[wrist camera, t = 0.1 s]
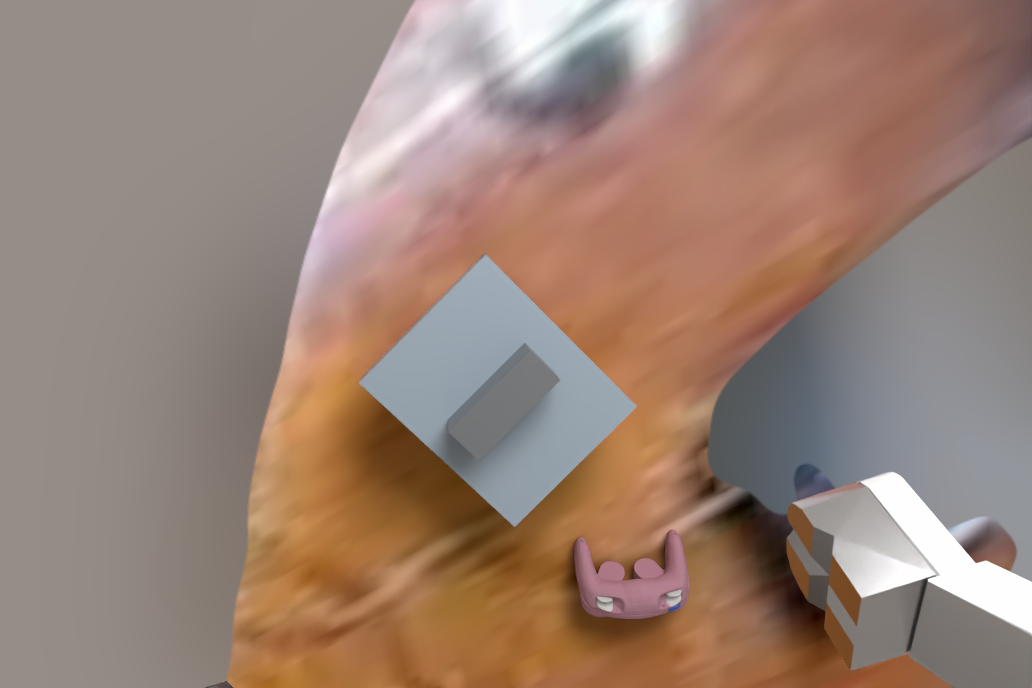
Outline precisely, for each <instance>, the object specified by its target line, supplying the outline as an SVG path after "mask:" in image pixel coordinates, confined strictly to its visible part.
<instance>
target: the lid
mask: <svg viewBox="0 0 1032 688" xmlns="http://www.w3.org/2000/svg"><path fill="white" fill-rule="evenodd" d="M359 384H360V385H362V386H363V387H364V388H365V389H366V390H367V391H368V392H369V393H370V394H371V395H372V396H373V397H375V398H376V399H377V400H378V401H379V402H380V403H381V404H382V405H383V406H384V407H385V408H386V409H388V410H389V411H390V412H391V413H392V414H393V415H394V416H395V417H396V418H397V419H398V420H399V421H400V422H402V423H403V424H404V425H405V426H406V427H407V428H408V429H409V430H410V431H411V432H412V433H413V434H415V435H416V436H417V437H418V438H419V439H420V440H421V441H422V442H423V443H424V444H425V445H426V446H428V447H429V448H430V449H431V450H432V451H433V452H434V453H435V454H436V455H437V456H438V457H439V458H440V459H442V460H443V461H444V462H445V463H446V464H447V465H448V466H449V467H450V468H451V469H452V470H453V471H455V472H456V473H457V474H458V475H459V476H460V477H461V478H462V479H463V480H464V481H465V482H466V483H468V484H469V485H470V486H471V487H472V488H473V489H474V490H475V491H476V492H477V493H478V494H479V495H480V496H482V497H483V498H484V499H485V500H486V501H487V502H488V503H489V504H490V505H491V506H492V507H493V508H495V509H496V510H497V511H498V512H499V513H500V514H501V515H502V516H503V517H504V518H505V519H506V520H508V521H509V522H510V523H511V524H512V525H513V526H514V527H515V526H516V525H517V524H518V523H519V522H520V521H521V520H522V519H523V518H524V517H526V516H527V515H528V514H529V513H530V512H531V511H532V510H533V509H534V508H535V507H536V506H537V505H538V504H539V503H540V502H541V501H542V500H543V499H544V498H545V497H546V496H547V495H548V494H549V493H550V492H551V491H552V490H553V489H554V488H555V487H556V486H557V485H558V484H559V483H560V482H561V481H562V480H563V479H564V478H565V477H566V476H567V475H568V474H569V473H570V472H571V471H572V470H573V469H574V468H575V467H576V466H577V465H578V464H579V463H580V462H581V461H582V460H583V459H584V458H585V457H586V456H587V455H588V454H589V453H590V452H591V451H592V450H593V449H594V448H595V447H597V446H598V445H599V444H600V443H601V442H602V441H603V440H604V439H605V438H606V437H607V436H608V435H609V434H610V433H611V432H612V431H613V430H614V429H615V428H616V427H617V426H618V425H619V424H620V423H621V422H622V421H623V420H624V419H625V418H626V417H627V416H628V415H629V414H630V413H631V412H632V411H633V410H634V409H635V408H636V407H637V406H636V405H635V404H634V403H633V402H632V401H631V400H630V399H629V398H628V397H627V396H626V395H625V394H624V393H623V392H622V391H621V390H620V389H619V388H618V387H617V386H616V385H615V384H614V383H613V382H612V381H611V380H610V379H609V378H608V377H607V376H606V375H605V374H604V373H603V372H602V371H601V370H600V369H599V368H598V367H597V366H596V365H595V364H594V363H593V362H592V361H591V360H590V359H589V358H588V357H587V356H586V355H585V354H584V353H583V352H582V351H581V350H580V349H579V348H578V347H577V346H576V345H575V344H574V343H573V342H572V341H571V340H570V339H569V338H568V337H567V336H566V335H565V334H564V333H563V332H562V331H561V330H560V329H559V328H558V327H557V326H556V325H555V324H554V323H553V322H552V321H551V320H550V319H549V318H548V317H547V316H546V315H545V314H544V313H543V312H542V311H541V310H540V309H539V308H538V307H537V306H536V305H535V304H534V303H533V302H532V301H531V300H530V299H529V298H528V297H527V296H526V295H525V294H524V293H523V292H522V291H521V290H520V289H519V288H518V287H517V285H516V284H515V283H514V282H513V281H512V280H511V279H510V278H509V277H508V276H507V275H506V274H505V273H504V272H503V271H502V270H501V269H500V268H499V267H498V266H497V265H496V264H495V263H494V262H493V261H492V260H491V259H490V258H489V257H488V256H487V255H485V254H483V255H482V256H481V257H480V258H479V259H478V260H477V261H476V262H475V263H474V264H473V265H472V266H471V267H470V268H469V269H468V270H467V271H466V272H465V273H464V274H463V275H462V276H461V277H460V278H459V279H458V280H457V281H456V282H455V283H454V284H453V285H452V286H451V287H450V288H449V289H448V290H447V291H446V292H445V293H444V294H443V295H442V296H441V297H440V298H439V299H438V300H437V301H436V302H435V303H434V304H433V305H432V306H431V307H430V308H429V309H428V310H427V312H426V313H425V314H424V315H423V316H422V317H421V318H420V319H419V320H418V321H417V322H416V323H415V324H414V325H413V326H412V327H411V328H410V329H409V330H408V331H407V332H406V333H405V334H404V335H403V336H402V337H401V338H400V339H399V340H398V341H397V342H396V343H395V344H394V345H393V346H392V347H391V348H390V349H389V350H388V351H387V352H386V353H385V354H384V355H383V356H382V357H381V358H380V359H379V360H378V361H377V362H376V363H375V364H374V365H373V366H372V367H371V368H370V369H369V370H368V371H367V372H366V373H365V374H364V375H363V376H362V378H361V380H360V382H359Z"/></svg>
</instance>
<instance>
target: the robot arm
mask: <svg viewBox="0 0 1032 688" xmlns="http://www.w3.org/2000/svg"><path fill="white" fill-rule="evenodd" d="M788 521H789V522H790V524H791V525H792V527H793V528H794V530H793V531H792V533H791V534H790V535H789V536H788V537H787V555H788V558H789V562H790V566H791V569H792V572H793V574H794V576H795V578H796V581H797V583H798V585H799V587H800V588H801V590H802V592H803V593H804V595H805V597H806V599H807V600H808V601H809V602H811V603H813V604H815V605H816V606H818V607H820V608H822V609H824V610H825V611H826V615H825V627H824V629H825V630H826V632H827V633H828V635H829V637H830V638H831V640H832V642H833V643H834V645H835V646H836V648H837V650H838V651H839V653H840V655H841V656H842V658H843V660H844V661H845V663H846V664H847V666H848V668H849V669H850V671H851V670H855V669H858V668H862V667H865V666H868V665H872V664H875V663H878V662H882V661H885V660H889V659H892V658H895V657H899V656H902V655H906V654H909V653H910V654H909V657H910V658H911V659H913V660H914V661H916V662H917V663H919V664H920V665H922V666H923V667H924V668H926V669H927V670H929V671H930V672H932V673H933V674H935V675H936V676H938V677H939V678H941V679H942V680H944V681H945V682H947V683H948V684H950V685H951V686H953V687H954V688H1032V582H1030V581H1028V580H1026V579H1024V578H1022V577H1020V576H1018V575H1016V574H1013V573H1011V572H1009V571H1007V570H1005V569H1003V568H1001V567H999V566H996V565H994V564H992V563H990V562H988V561H983V562H979V563H975V562H974V561H973V560H972V558H971V557H970V556H969V555H968V554H967V553H966V551H965V550H964V549H963V548H962V547H961V546H960V544H959V543H958V542H957V541H956V540H955V539H954V537H953V536H952V535H951V534H950V533H949V531H948V530H947V529H946V528H945V527H944V526H943V524H942V523H941V522H940V521H939V520H938V519H937V518H936V516H935V515H934V514H933V513H932V512H931V510H930V509H929V508H928V507H927V506H926V505H925V503H924V502H923V501H922V500H921V499H920V498H919V496H918V495H917V494H916V493H915V492H914V491H913V489H912V488H911V487H910V486H909V485H908V484H907V482H906V481H905V480H904V479H903V478H902V477H901V476H900V475H898V474H896V473H894V472H887V473H884V474H881V475H878V476H875V477H872V478H868V479H865V480H862V481H859V482H853V483H850V484H847V485H844V486H841V487H838V488H835V489H832V490H829V491H826V492H823V493H820V494H817V495H814V496H811V497H808V498H805V499H802V500H799V501H796V502H793V503H792V504H791V505H790V506H789V508H788ZM205 688H233V687H232V686H231V685H230V684H229V683H228V682H227V681H224V682H221V683H218V684H215V685H211V686H208V687H205Z"/></svg>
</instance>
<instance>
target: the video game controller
mask: <svg viewBox="0 0 1032 688" xmlns="http://www.w3.org/2000/svg"><path fill="white" fill-rule="evenodd" d="M574 560H575V570H576V577H577V582H578V586H579V590H580V594H581V605H582V607H583V609H584V610H585V611H586V612H588V613H589V614H591V615H593V616H596V617H607V616H608V617H612V618H620V619H642V618H650V617H654V616H658V615H662V614H665V613H667V612H676V611H678V610H680V609H682V608H683V607H684V606H685V604H686V601H687V597H688V593H689V579H688V571H687V565H686V559H685V554H684V550H683V545H682V541H681V539H680V537H679V535H678V533H677V532H676V531H675V530H670V531H669V532H668V534H667V538H666V544H665V566H666V568H665V570H663V569H662V568H661V567H659V565H658V564H657V563H656V562H655V561H653V560H651V559H648V558H643V559H640V560H638V561H637V562H636V563H635V565H634V570H633V578H634V579H631V580H623V579H624V574H625V571H624V568H623V567H622V565H620V564H619V563H617V562H613V561H608V562H604V563H603V564H602V565H601V567H600V569H599V572H598V574H597V573H596V570H595V568H594V565H593V561H592V557H591V552H590V548H589V546H588V544H587V542H586V540H585V539H584V538H583V537H579V538H578V539H577V540H576V542H575V547H574Z"/></svg>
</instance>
